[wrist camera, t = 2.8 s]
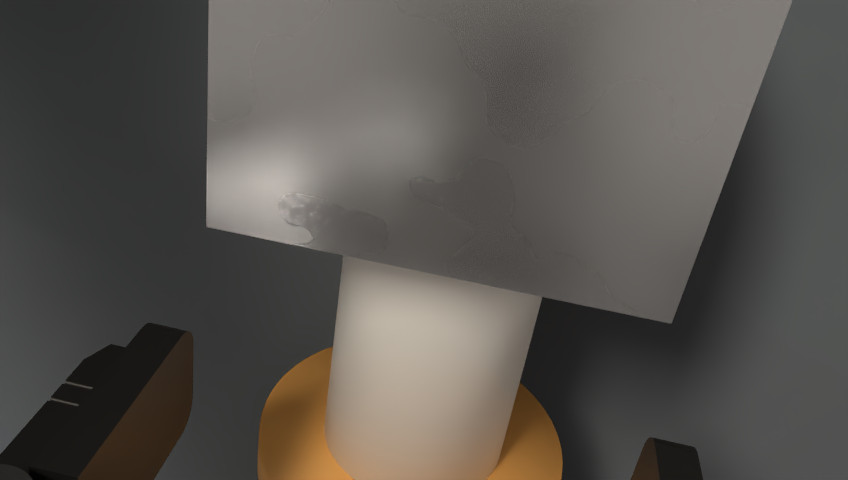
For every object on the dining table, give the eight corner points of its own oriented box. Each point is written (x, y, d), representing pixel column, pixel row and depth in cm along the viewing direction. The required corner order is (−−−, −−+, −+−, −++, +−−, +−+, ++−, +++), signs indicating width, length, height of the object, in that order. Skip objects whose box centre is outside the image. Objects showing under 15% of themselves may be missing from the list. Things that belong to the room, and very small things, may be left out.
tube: (375, -426, 13) (229, -594, 8) (782, -362, 13) (960, -490, 7) (300, 403, 23) (208, 615, 17) (537, 455, 22) (527, 691, 16)
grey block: (370, -221, 16) (211, -233, 9) (712, -162, 16) (838, -125, 9) (342, 62, 19) (206, 226, 12) (630, 118, 19) (671, 323, 12)
